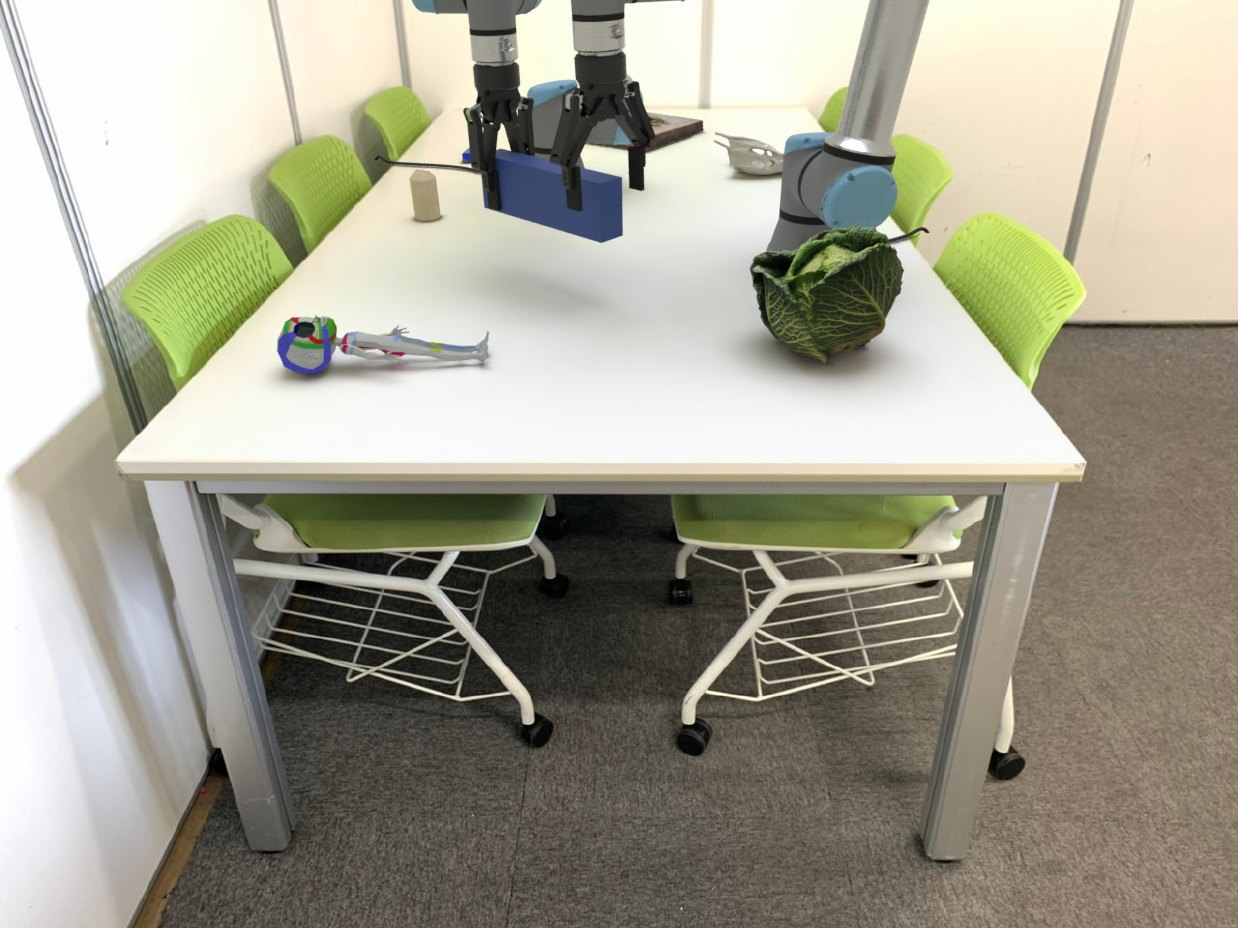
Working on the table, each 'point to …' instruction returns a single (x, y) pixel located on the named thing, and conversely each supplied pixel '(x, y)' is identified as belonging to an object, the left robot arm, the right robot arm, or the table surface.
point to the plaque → (668, 130)
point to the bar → (558, 197)
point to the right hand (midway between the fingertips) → (606, 199)
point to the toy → (358, 345)
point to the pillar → (466, 156)
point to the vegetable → (828, 290)
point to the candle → (425, 195)
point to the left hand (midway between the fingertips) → (507, 205)
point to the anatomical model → (752, 156)
